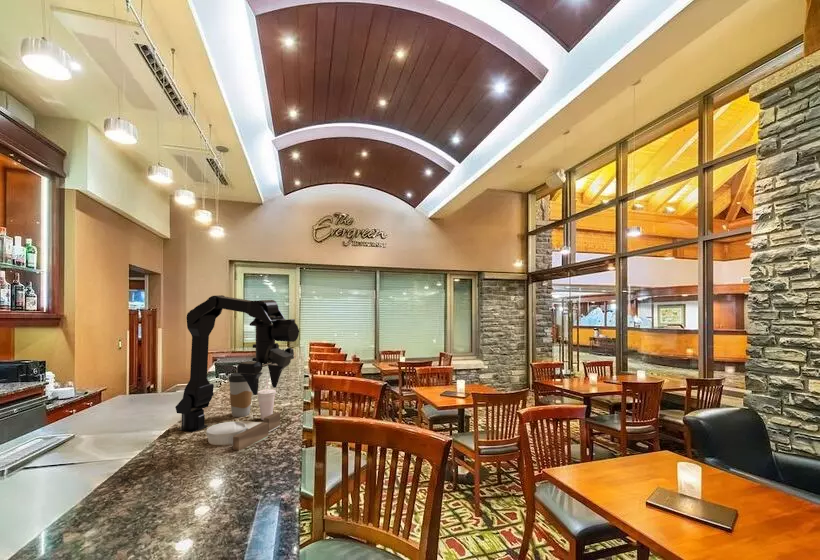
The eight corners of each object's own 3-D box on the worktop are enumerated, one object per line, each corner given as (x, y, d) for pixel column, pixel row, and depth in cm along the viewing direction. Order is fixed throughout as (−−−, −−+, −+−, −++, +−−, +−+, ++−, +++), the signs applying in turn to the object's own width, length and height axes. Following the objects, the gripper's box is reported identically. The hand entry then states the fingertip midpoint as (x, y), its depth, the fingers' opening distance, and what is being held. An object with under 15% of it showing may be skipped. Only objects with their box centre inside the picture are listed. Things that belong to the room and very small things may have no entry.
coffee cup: (247, 409, 157) (247, 370, 157) (256, 414, 151) (256, 373, 151) (224, 414, 151) (225, 373, 151) (233, 419, 145) (234, 377, 146)
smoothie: (278, 415, 149) (279, 377, 150) (271, 421, 143) (271, 381, 143) (262, 415, 150) (262, 377, 150) (253, 421, 144) (253, 381, 144)
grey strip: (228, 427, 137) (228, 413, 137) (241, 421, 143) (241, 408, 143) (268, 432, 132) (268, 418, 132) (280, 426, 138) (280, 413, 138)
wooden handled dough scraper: (194, 446, 121) (194, 431, 121) (226, 431, 133) (226, 417, 133) (238, 453, 116) (238, 437, 116) (268, 436, 128) (268, 422, 128)
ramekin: (254, 442, 126) (254, 425, 126) (220, 455, 117) (220, 437, 117) (232, 435, 133) (232, 418, 133) (198, 447, 123) (198, 429, 123)
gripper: (268, 345, 116) (268, 401, 115) (304, 337, 133) (304, 385, 133) (235, 344, 119) (235, 398, 119) (275, 336, 137) (275, 383, 137)
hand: (265, 391), depth 127 cm, fingers open, 9 cm apart
